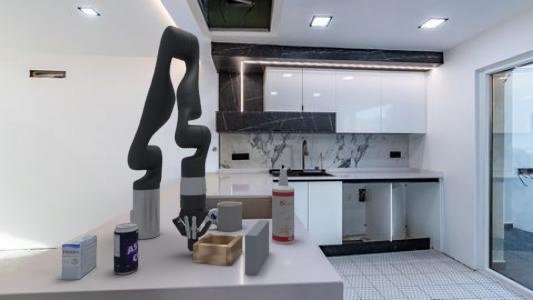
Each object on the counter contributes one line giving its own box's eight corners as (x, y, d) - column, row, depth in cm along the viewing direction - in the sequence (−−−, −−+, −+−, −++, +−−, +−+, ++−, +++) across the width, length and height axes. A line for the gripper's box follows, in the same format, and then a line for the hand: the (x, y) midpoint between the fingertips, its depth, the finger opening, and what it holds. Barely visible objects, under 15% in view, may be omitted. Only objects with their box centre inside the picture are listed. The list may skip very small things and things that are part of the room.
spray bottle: (282, 236, 104) (282, 167, 104) (298, 240, 99) (298, 168, 99) (267, 241, 98) (267, 168, 98) (283, 246, 93) (283, 169, 93)
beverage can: (128, 277, 70) (128, 228, 70) (108, 275, 71) (108, 227, 71) (143, 268, 75) (143, 222, 76) (124, 266, 77) (124, 221, 77)
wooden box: (193, 262, 79) (193, 244, 79) (209, 249, 90) (209, 233, 90) (231, 265, 77) (231, 247, 77) (242, 251, 87) (242, 235, 87)
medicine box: (79, 267, 76) (79, 234, 76) (97, 266, 77) (97, 234, 77) (61, 280, 68) (61, 244, 68) (80, 279, 69) (80, 243, 69)
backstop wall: (245, 275, 71) (245, 235, 71) (259, 252, 87) (259, 220, 87) (256, 276, 71) (256, 235, 71) (269, 253, 86) (269, 220, 86)
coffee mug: (241, 225, 120) (241, 201, 120) (242, 231, 110) (242, 205, 110) (209, 226, 118) (209, 201, 118) (207, 232, 108) (207, 206, 108)
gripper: (166, 193, 82) (165, 253, 82) (208, 194, 79) (208, 256, 79) (179, 189, 90) (179, 245, 89) (218, 191, 87) (218, 247, 87)
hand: (193, 250), depth 84 cm, fingers closed
